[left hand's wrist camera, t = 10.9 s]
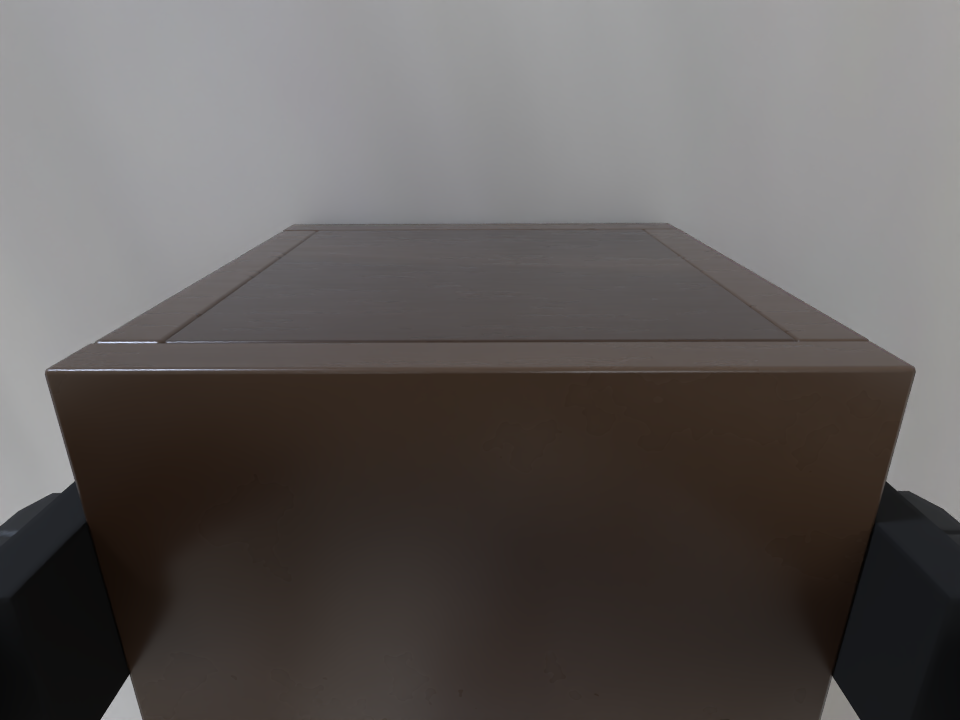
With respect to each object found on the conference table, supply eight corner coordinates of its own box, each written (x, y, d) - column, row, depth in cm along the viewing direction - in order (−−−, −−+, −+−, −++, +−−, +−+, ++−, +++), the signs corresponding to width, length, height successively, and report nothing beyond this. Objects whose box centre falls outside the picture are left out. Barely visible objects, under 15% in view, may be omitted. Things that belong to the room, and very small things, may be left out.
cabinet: (615, 725, 24) (707, 1139, 14) (348, 726, 24) (259, 1138, 14) (670, 222, 17) (919, 367, 7) (291, 224, 17) (40, 370, 7)
